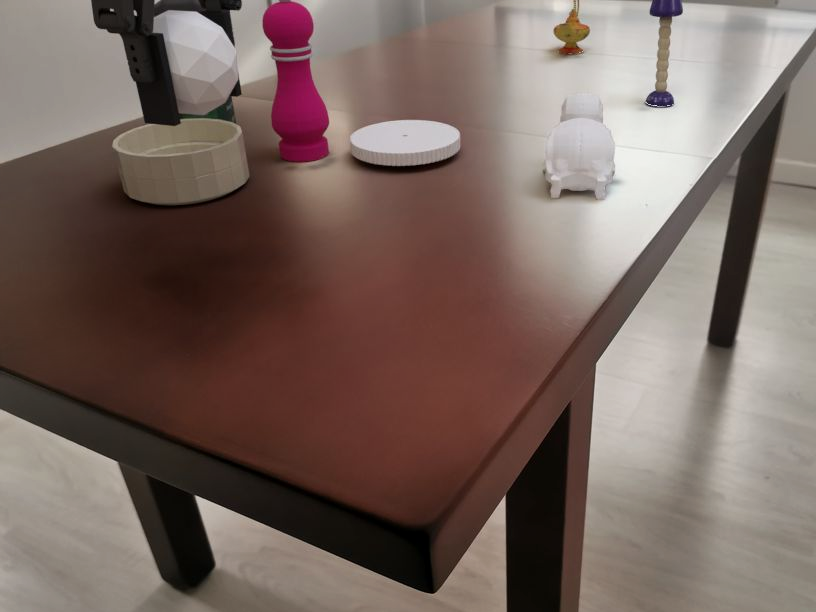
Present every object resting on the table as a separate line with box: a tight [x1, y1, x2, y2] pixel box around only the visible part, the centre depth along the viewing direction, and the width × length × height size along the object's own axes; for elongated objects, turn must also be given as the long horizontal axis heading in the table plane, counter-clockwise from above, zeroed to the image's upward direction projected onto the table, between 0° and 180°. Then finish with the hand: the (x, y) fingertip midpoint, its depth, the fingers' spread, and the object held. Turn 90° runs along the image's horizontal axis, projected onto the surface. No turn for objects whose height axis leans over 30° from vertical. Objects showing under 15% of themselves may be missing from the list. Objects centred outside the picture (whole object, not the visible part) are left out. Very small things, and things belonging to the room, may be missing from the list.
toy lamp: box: [644, 0, 684, 108], centre depth 117 cm, size 5×5×17 cm
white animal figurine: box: [542, 91, 616, 201], centre depth 93 cm, size 8×8×15 cm
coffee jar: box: [154, 0, 237, 124], centre depth 108 cm, size 10×8×19 cm
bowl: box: [111, 118, 250, 206], centre depth 94 cm, size 14×14×6 cm
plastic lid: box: [349, 119, 461, 167], centre depth 103 cm, size 14×14×2 cm
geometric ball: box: [152, 10, 239, 115], centre depth 63 cm, size 8×8×8 cm
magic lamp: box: [552, 0, 591, 55], centre depth 149 cm, size 7×18×11 cm, turn 165°
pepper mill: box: [262, 0, 330, 163], centre depth 99 cm, size 7×7×20 cm
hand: (195, 107), depth 65 cm, fingers closed on geometric ball, 8 cm apart
